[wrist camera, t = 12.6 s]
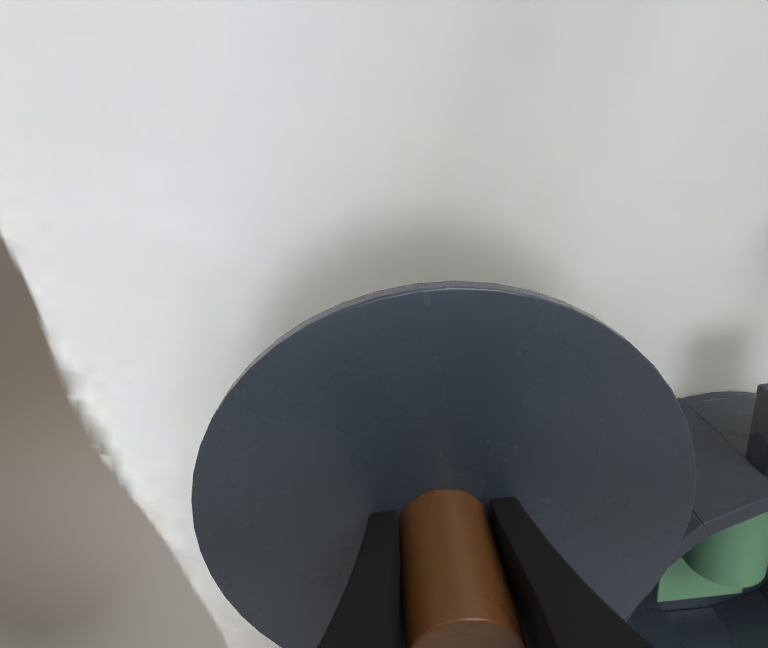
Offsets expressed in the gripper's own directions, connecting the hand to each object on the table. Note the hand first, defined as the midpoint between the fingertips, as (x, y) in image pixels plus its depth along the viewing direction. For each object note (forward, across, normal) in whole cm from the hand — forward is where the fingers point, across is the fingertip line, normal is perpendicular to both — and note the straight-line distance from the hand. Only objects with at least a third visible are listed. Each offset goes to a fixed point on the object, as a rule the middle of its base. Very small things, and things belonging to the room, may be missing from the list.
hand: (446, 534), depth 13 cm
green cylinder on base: (+7, -11, +8) cm, 15 cm away
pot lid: (+1, 0, 0) cm, 1 cm away
